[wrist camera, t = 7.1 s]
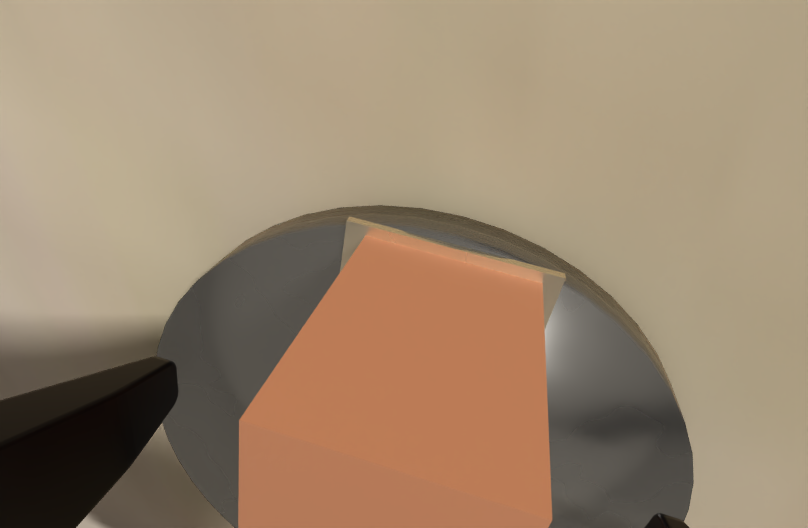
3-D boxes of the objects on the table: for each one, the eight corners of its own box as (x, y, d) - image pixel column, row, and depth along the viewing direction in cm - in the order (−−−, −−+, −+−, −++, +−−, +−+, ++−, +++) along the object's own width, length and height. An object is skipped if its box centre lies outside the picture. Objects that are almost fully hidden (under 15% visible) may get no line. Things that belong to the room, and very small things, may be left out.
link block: (542, 283, 9) (552, 519, 5) (471, 466, 12) (439, 716, 8) (365, 235, 10) (239, 419, 6) (336, 423, 13) (236, 641, 8)
